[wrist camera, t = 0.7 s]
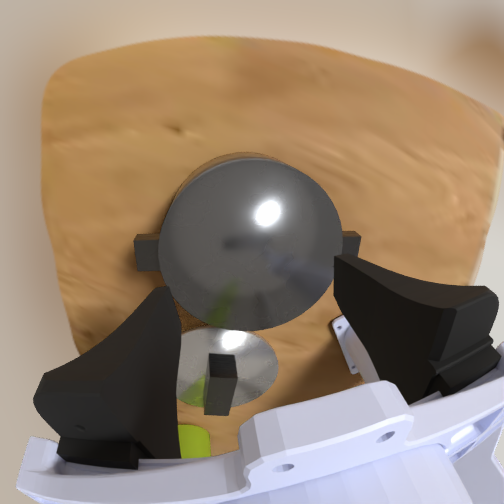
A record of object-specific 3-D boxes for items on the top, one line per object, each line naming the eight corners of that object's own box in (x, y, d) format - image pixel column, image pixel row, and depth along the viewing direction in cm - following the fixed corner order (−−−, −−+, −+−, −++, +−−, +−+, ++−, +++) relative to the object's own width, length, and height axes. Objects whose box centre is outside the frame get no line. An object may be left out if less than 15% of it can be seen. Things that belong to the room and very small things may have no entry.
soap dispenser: (209, 447, 34) (223, 571, 16) (161, 439, 32) (162, 569, 14) (222, 429, 32) (242, 570, 14) (170, 420, 30) (172, 569, 12)
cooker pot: (341, 157, 20) (375, 168, 16) (323, 287, 25) (346, 322, 20) (144, 154, 18) (124, 164, 14) (156, 293, 23) (147, 333, 18)
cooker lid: (289, 326, 26) (301, 355, 23) (262, 402, 31) (268, 429, 27) (157, 314, 24) (151, 345, 20) (159, 397, 29) (156, 425, 25)
